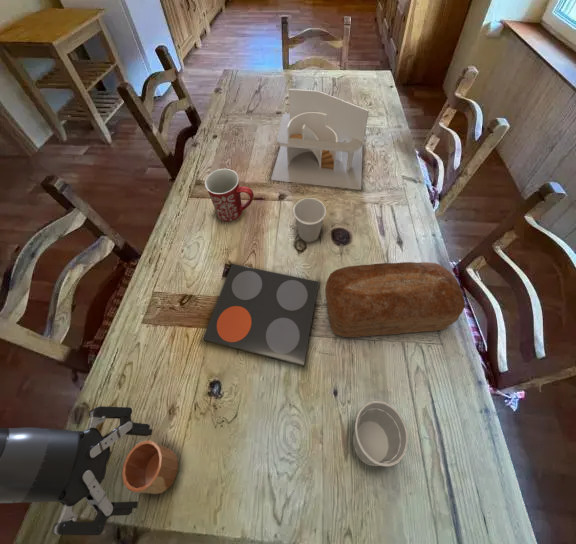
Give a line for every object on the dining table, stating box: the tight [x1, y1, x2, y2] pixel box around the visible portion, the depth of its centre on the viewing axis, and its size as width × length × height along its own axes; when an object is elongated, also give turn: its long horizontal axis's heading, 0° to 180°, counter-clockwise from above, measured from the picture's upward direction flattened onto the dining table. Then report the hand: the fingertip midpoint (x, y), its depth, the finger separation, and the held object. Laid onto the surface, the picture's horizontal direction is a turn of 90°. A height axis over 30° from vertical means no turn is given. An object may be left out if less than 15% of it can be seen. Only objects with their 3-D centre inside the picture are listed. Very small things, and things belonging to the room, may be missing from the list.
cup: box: [352, 400, 409, 467], centre depth 57 cm, size 8×8×12 cm
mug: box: [204, 168, 254, 223], centre depth 94 cm, size 13×9×14 cm
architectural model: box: [270, 88, 370, 191], centre depth 104 cm, size 28×21×23 cm
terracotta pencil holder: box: [121, 440, 179, 495], centre depth 56 cm, size 6×6×10 cm
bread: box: [324, 261, 466, 338], centre depth 72 cm, size 12×28×14 cm, turn 94°
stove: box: [202, 263, 320, 368], centre depth 77 cm, size 18×22×2 cm
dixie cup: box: [292, 197, 327, 243], centre depth 89 cm, size 8×8×10 cm
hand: (143, 466), depth 54 cm, fingers open, 8 cm apart
